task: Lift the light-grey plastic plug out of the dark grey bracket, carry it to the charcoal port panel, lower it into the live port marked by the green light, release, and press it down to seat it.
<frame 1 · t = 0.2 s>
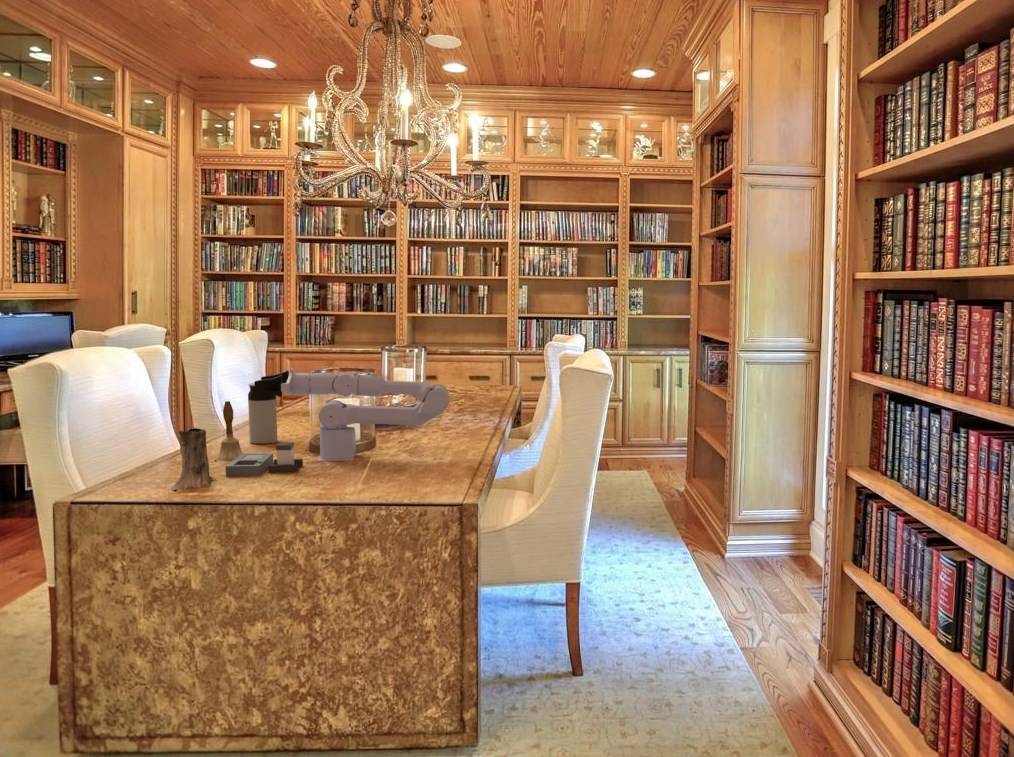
hand: (258, 383, 192), 21 cm above the table, tool horizontal, fingers open, 7 cm apart
dark grey bracket: (286, 471, 183), on the table
travel mug: (263, 442, 219), on the table
tree stump: (195, 487, 169), on the table
hand bell: (230, 460, 196), on the table
plug: (285, 469, 183), point 1 cm above the table, touching dark grey bracket
port panel: (250, 471, 183), on the table
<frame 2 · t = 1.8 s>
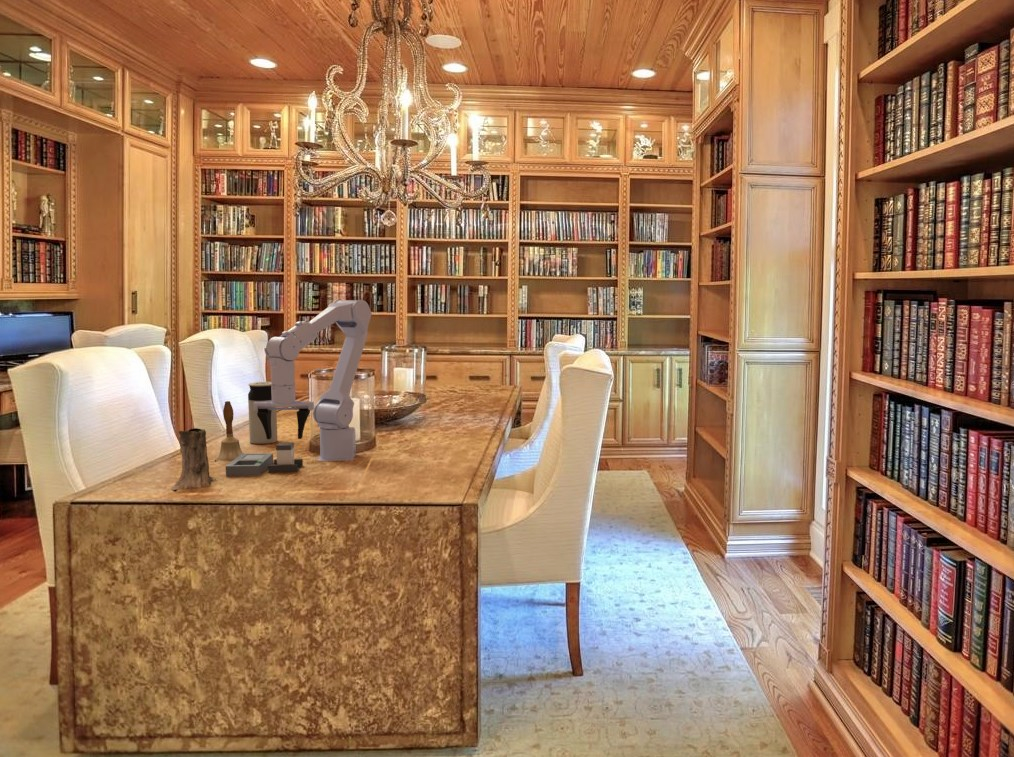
hand: (284, 438, 182), 9 cm above the table, tool pointing down, fingers open, 7 cm apart
nothing on the table moved.
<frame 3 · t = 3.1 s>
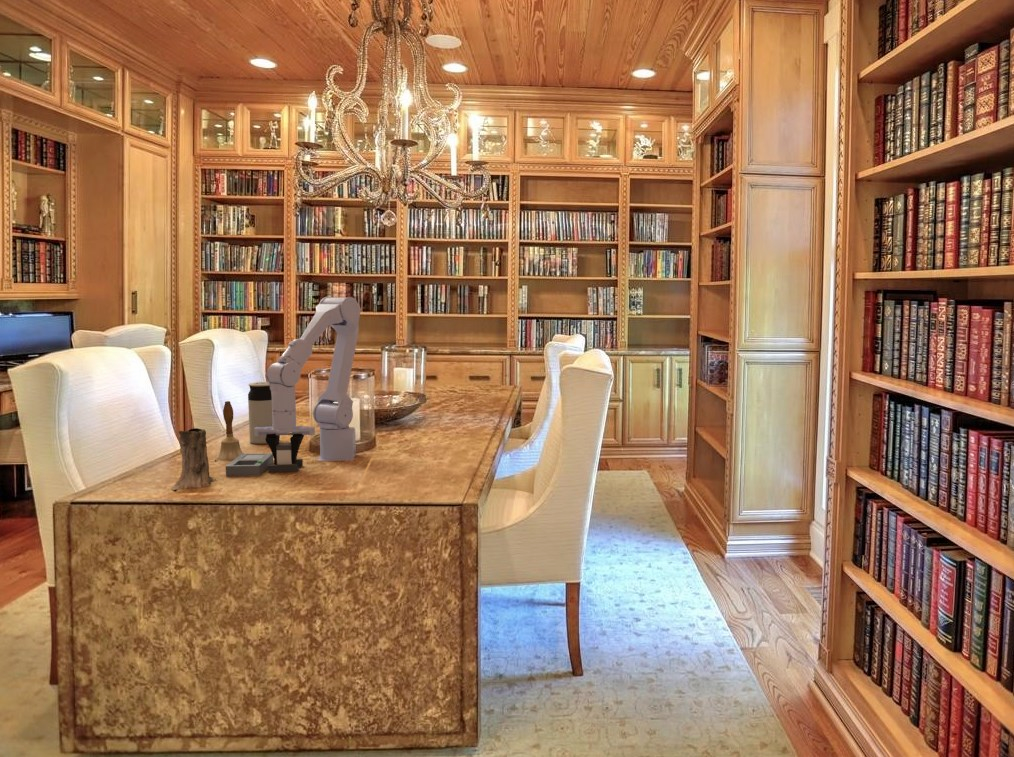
hand: (285, 463, 183), 2 cm above the table, tool pointing down, fingers closed on plug, 3 cm apart
plug: (285, 469, 183), point 1 cm above the table, touching gripper, dark grey bracket
everything else where it was.
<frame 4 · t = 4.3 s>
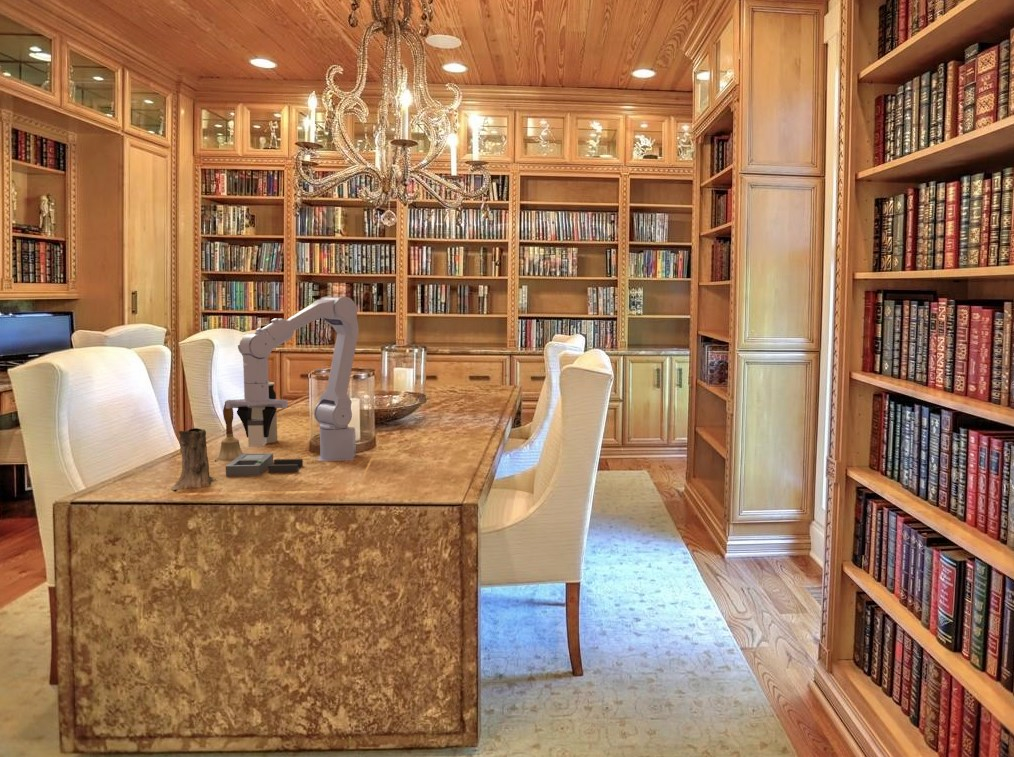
hand: (257, 436, 179), 9 cm above the table, tool pointing down, fingers closed on plug, 3 cm apart
plug: (257, 445, 179), point 7 cm above the table, touching gripper
everything else where it was.
when the fingers open (3 cm above the table, at t = 5.9 s): plug drops 1 cm, resting in port panel.
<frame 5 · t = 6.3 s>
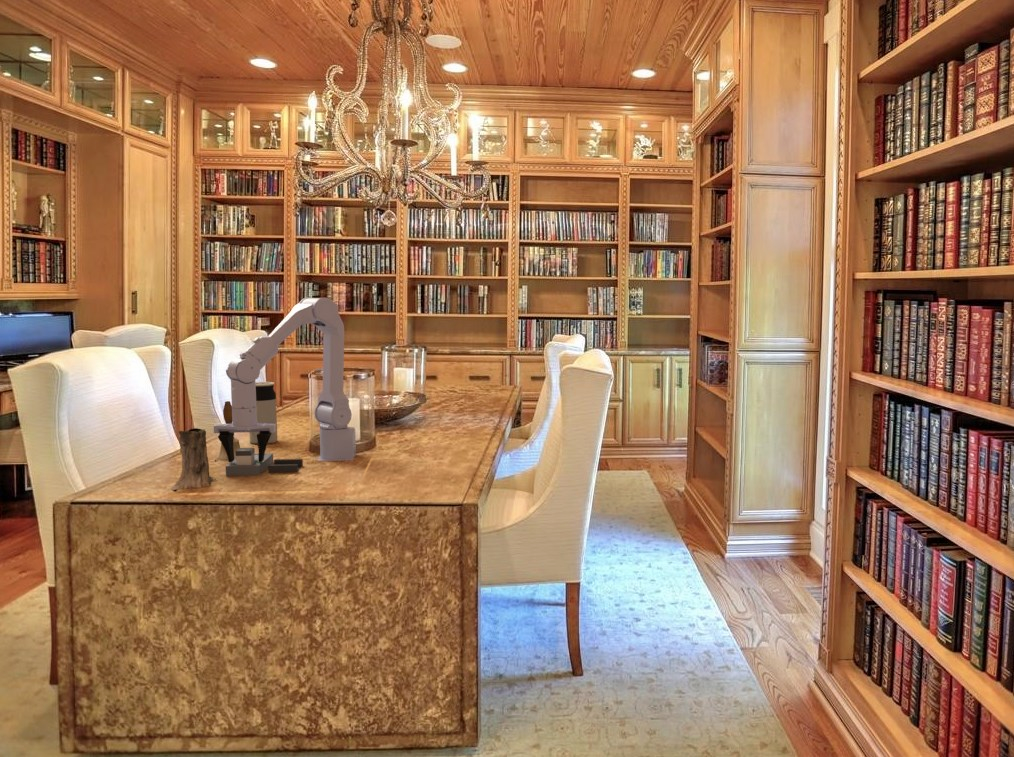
hand: (246, 461, 179), 3 cm above the table, tool pointing down, fingers open, 7 cm apart
plug: (246, 475, 179), resting in port panel
everything else where it was.
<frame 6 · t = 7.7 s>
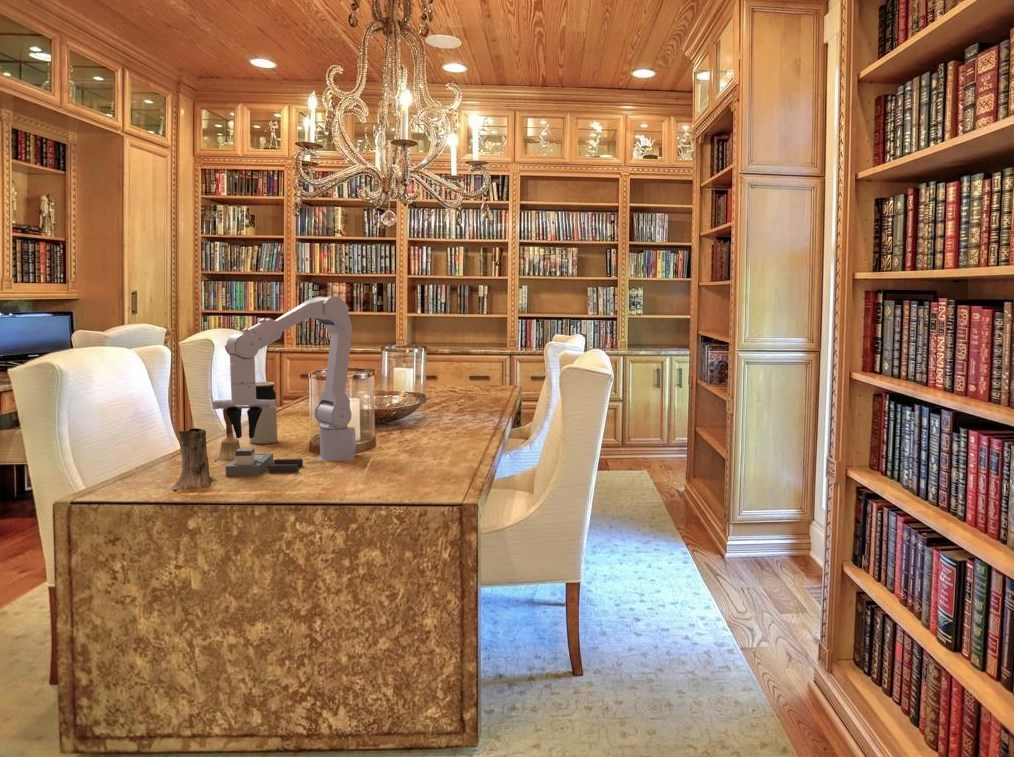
hand: (245, 437, 179), 9 cm above the table, tool pointing down, fingers closed
nothing on the table moved.
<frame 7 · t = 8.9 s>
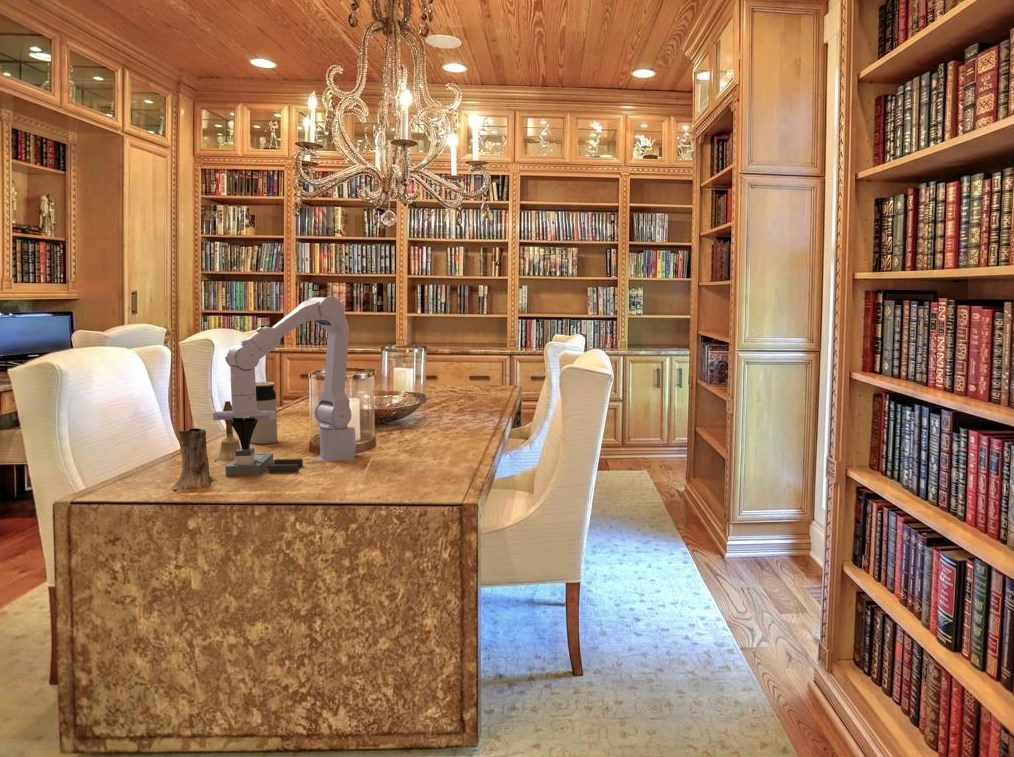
hand: (245, 448, 179), 7 cm above the table, tool pointing down, fingers closed
nothing on the table moved.
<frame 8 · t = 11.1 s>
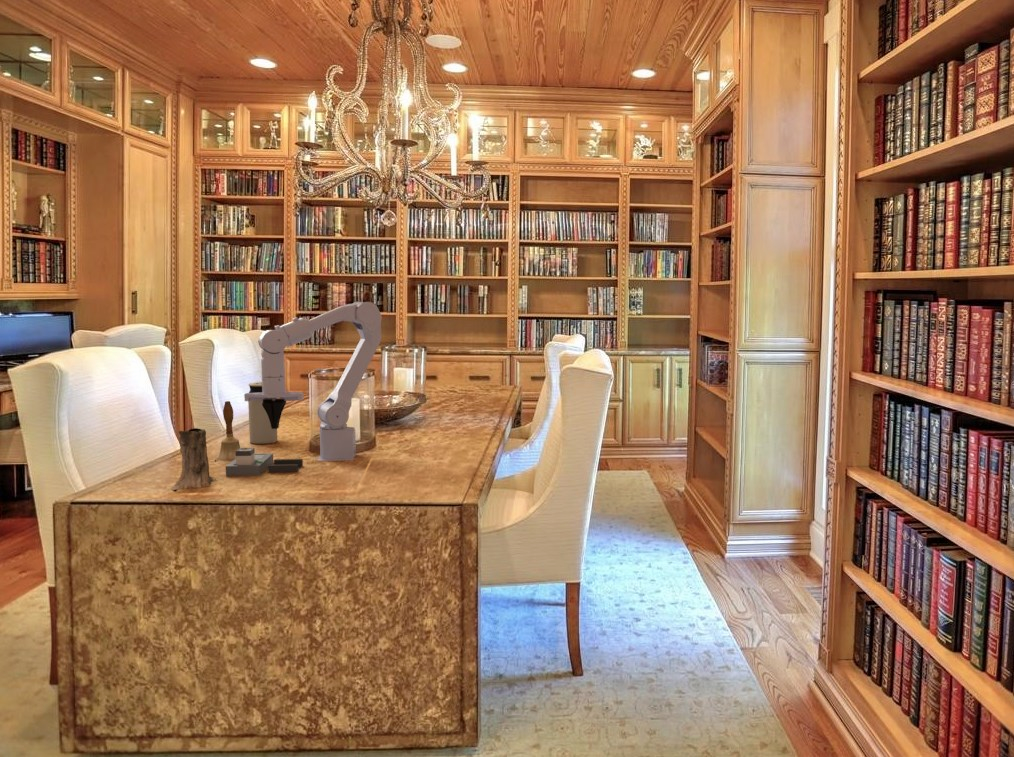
hand: (275, 428, 188), 10 cm above the table, tool pointing down, fingers closed
nothing on the table moved.
at the end: plug 0.5 cm from the target spot on the port panel, point 0.0 cm above the port panel's base; plug tilted 0°; the gripper is holding nothing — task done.
